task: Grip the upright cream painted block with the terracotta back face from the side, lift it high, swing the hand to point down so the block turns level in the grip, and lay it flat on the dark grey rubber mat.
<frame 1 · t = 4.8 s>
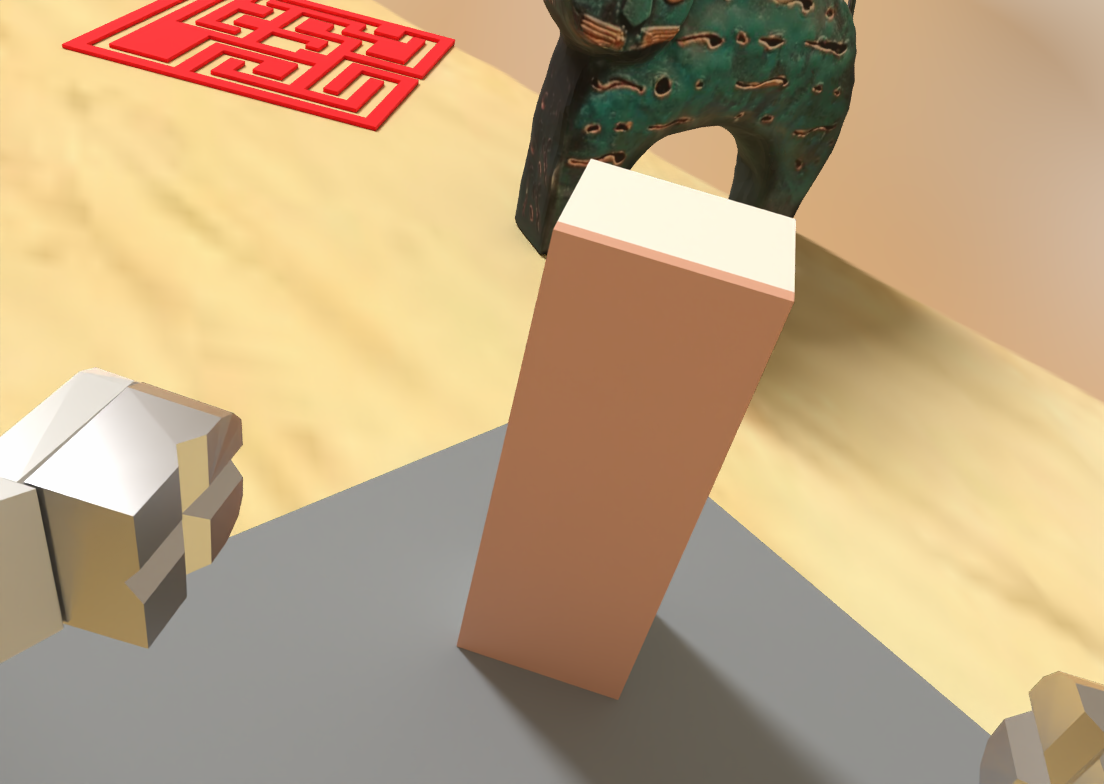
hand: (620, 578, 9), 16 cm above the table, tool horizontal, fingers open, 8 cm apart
ceramic cat: (647, 232, 52), on the table
block: (552, 620, 28), point 1 cm above the table, touching mat
maze puzzle: (283, 53, 63), on the table
mat: (516, 730, 25), on the table
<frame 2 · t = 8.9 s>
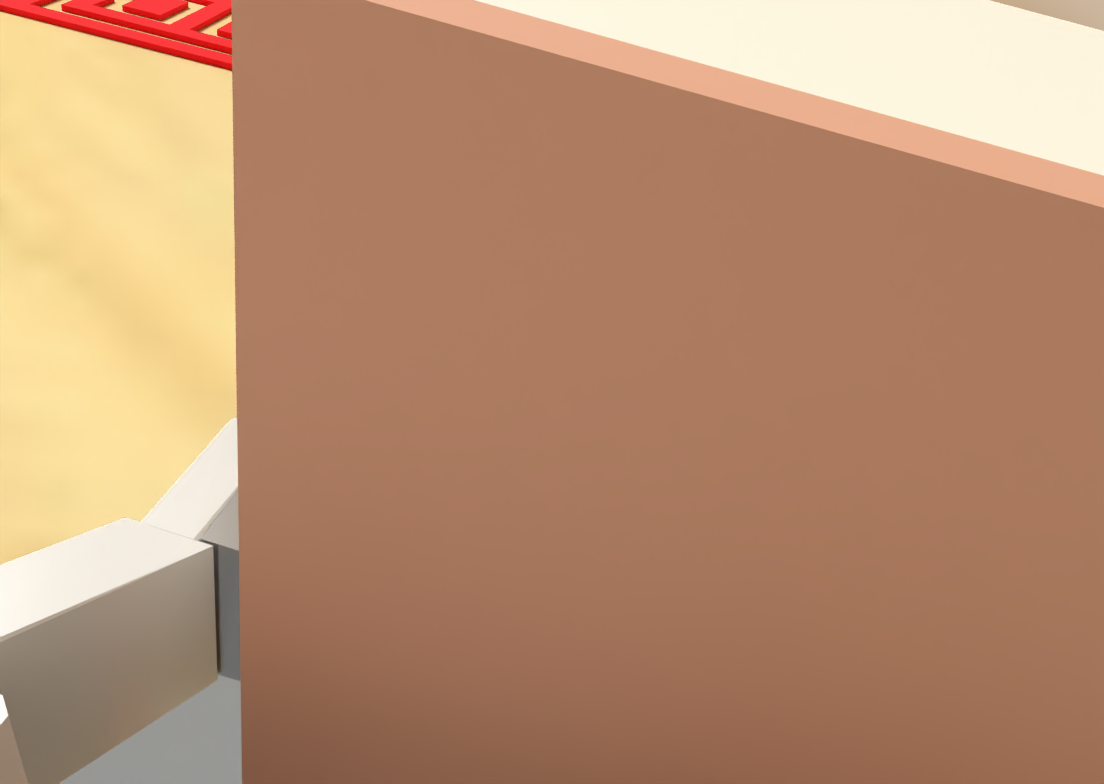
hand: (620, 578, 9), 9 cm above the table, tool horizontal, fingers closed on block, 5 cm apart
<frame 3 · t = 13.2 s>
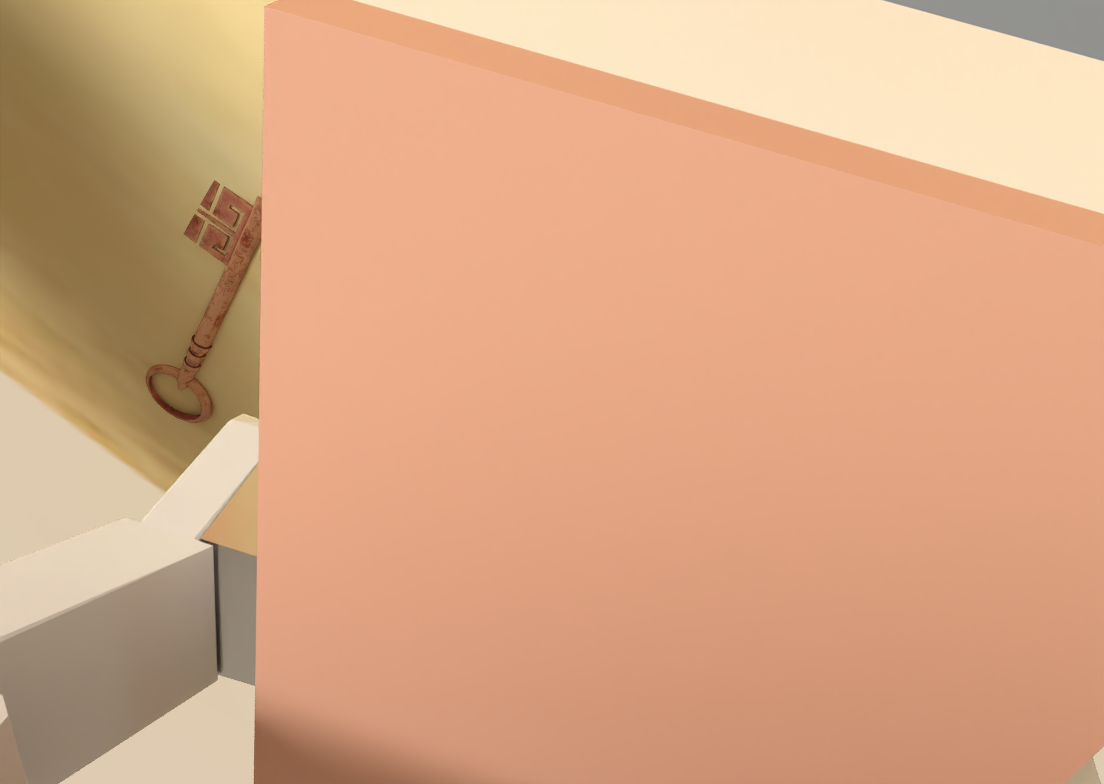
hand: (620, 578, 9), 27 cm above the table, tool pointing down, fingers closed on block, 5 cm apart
key: (203, 300, 44), on the table
mat: (719, 66, 32), on the table
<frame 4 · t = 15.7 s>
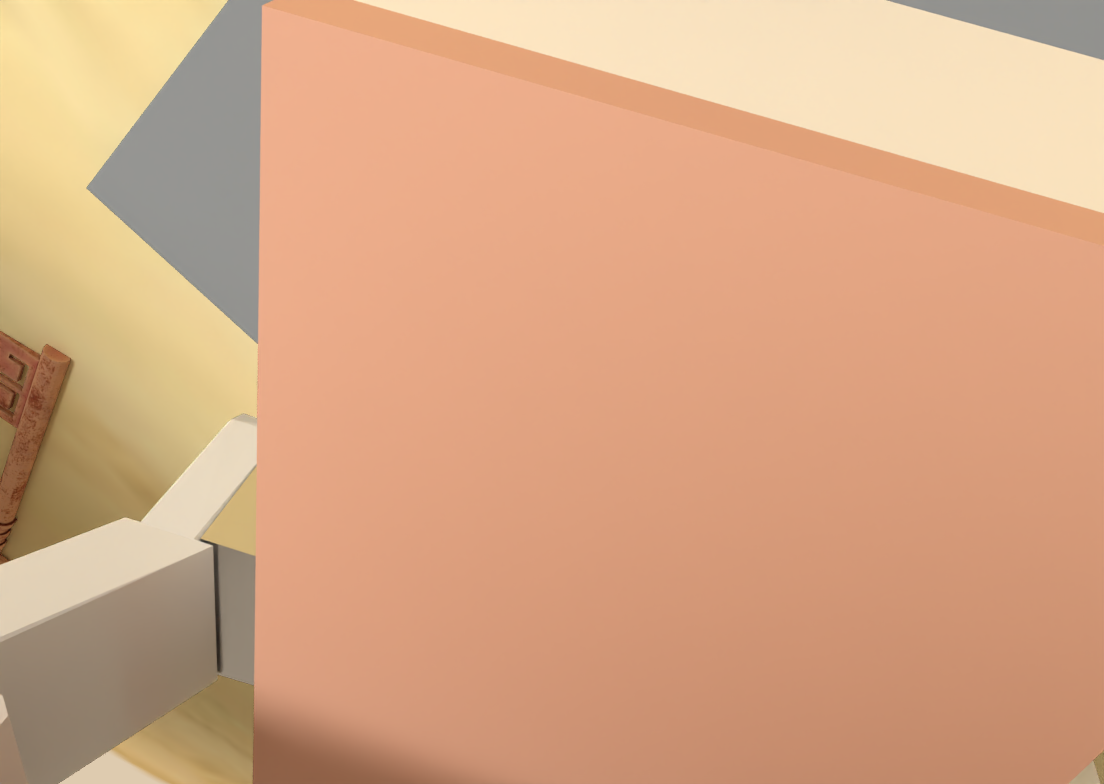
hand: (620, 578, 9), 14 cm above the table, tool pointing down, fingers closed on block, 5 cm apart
key: (0, 462, 33), on the table
mat: (684, 196, 21), on the table
when the fingers open (4 cm above the table, at t = 18.1 s): block drops 2 cm, resting on mat.
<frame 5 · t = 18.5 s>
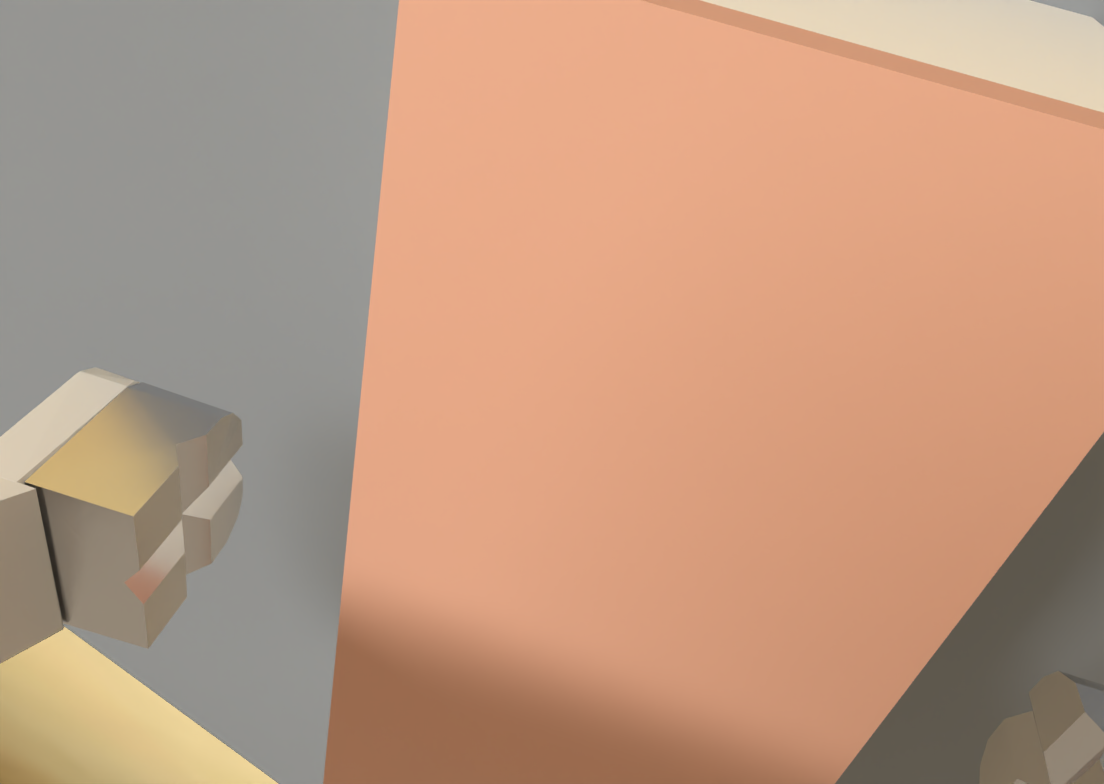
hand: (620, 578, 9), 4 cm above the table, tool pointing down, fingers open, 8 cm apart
mat: (655, 460, 13), on the table
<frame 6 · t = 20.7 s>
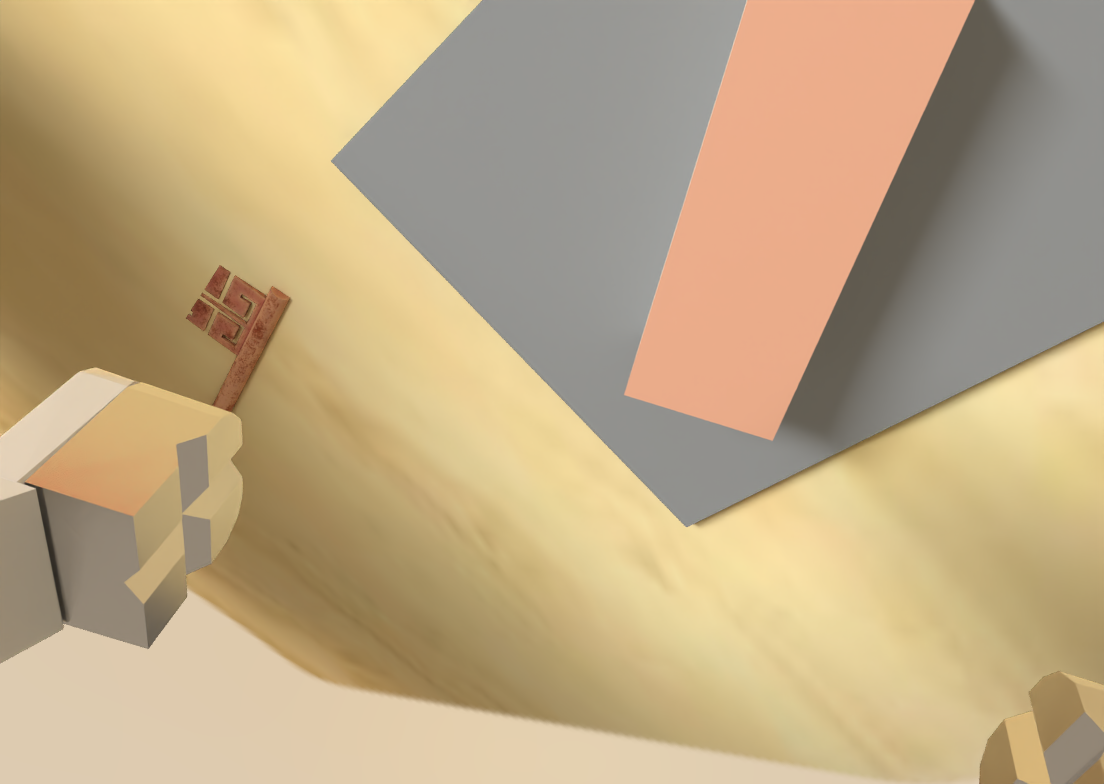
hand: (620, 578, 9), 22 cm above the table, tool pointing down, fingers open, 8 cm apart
block: (703, 384, 30), point 3 cm above the table, tilted 90°, touching mat
key: (212, 387, 41), on the table
mat: (788, 164, 28), on the table
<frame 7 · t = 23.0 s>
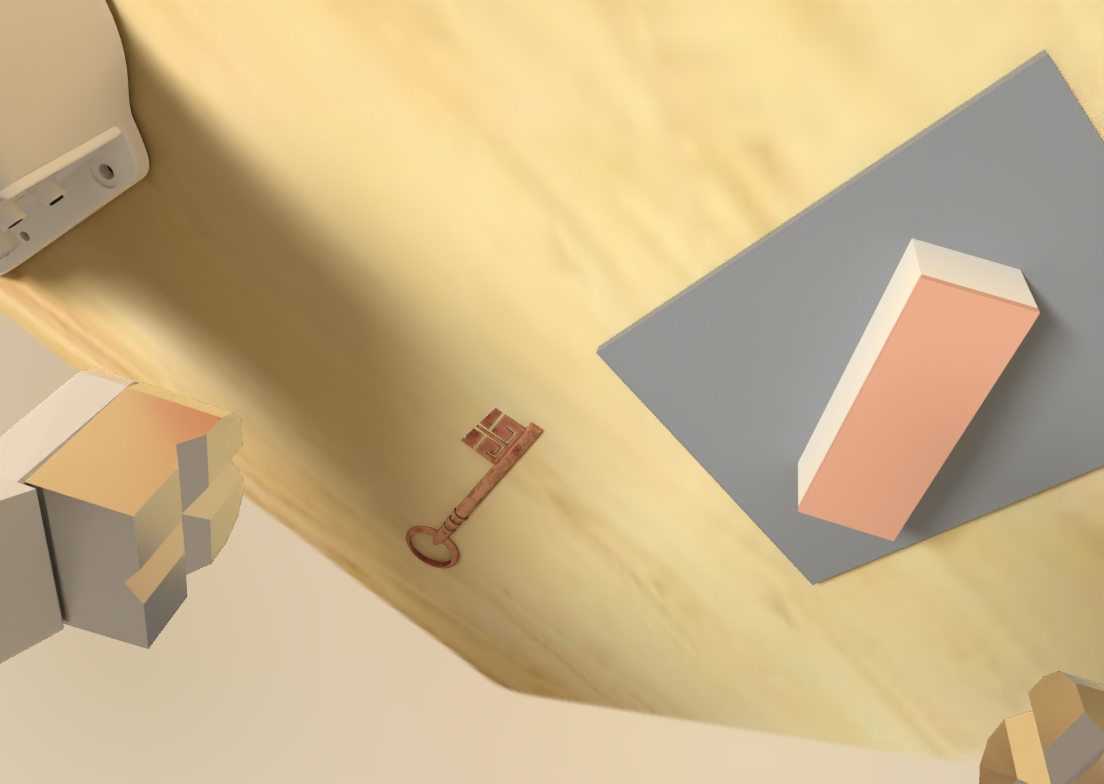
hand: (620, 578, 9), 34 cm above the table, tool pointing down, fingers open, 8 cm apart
block: (843, 500, 47), point 3 cm above the table, tilted 90°, touching mat
key: (465, 483, 57), on the table
mat: (904, 368, 45), on the table
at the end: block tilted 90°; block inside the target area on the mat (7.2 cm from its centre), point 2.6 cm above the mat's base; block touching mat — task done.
